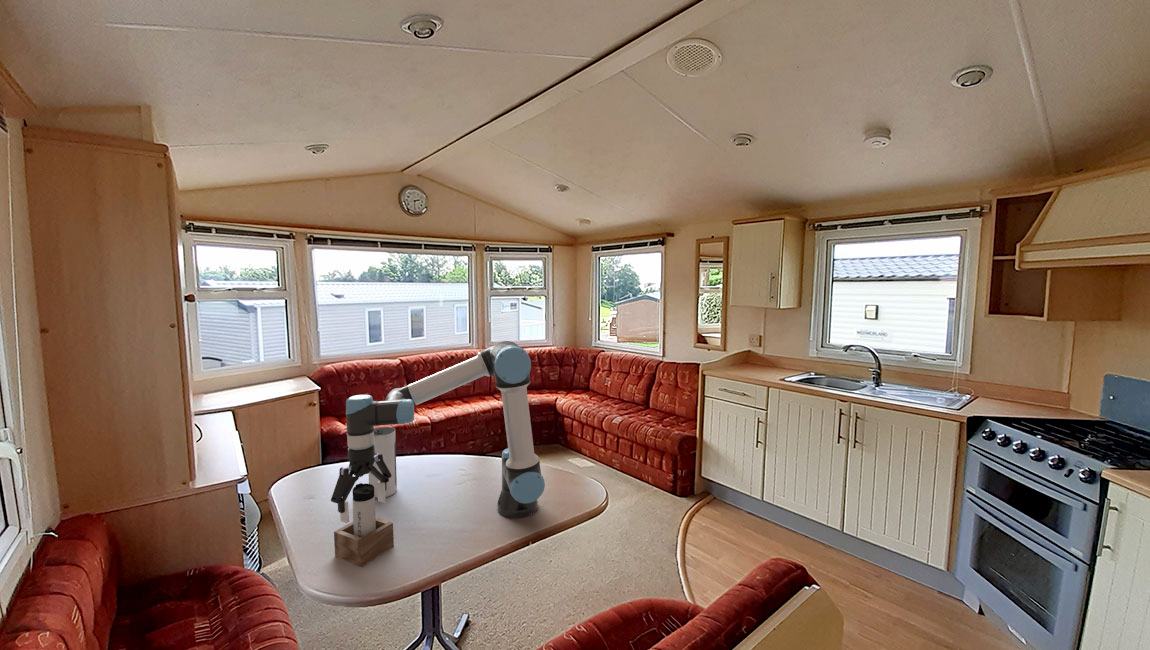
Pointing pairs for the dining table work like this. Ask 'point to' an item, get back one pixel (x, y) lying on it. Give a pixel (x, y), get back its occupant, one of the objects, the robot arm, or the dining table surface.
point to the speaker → (385, 458)
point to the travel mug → (363, 509)
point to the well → (363, 543)
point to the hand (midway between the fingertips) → (364, 511)
